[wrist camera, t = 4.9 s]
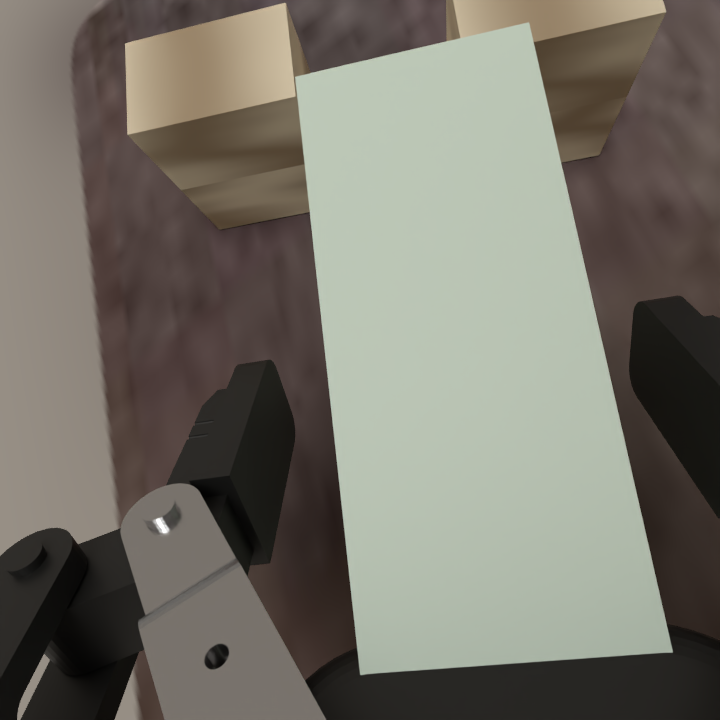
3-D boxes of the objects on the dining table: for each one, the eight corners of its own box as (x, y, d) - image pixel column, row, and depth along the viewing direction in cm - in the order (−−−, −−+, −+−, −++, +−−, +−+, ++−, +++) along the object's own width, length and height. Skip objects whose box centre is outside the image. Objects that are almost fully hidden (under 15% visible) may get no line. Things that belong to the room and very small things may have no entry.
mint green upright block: (393, 322, 19) (295, 77, 7) (480, 308, 18) (528, 22, 7) (431, 597, 17) (383, 891, 5) (530, 588, 16) (727, 887, 5)
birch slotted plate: (581, 81, 19) (636, -87, 13) (599, 155, 19) (665, 12, 13) (214, 160, 21) (125, 43, 15) (219, 229, 20) (127, 134, 15)
